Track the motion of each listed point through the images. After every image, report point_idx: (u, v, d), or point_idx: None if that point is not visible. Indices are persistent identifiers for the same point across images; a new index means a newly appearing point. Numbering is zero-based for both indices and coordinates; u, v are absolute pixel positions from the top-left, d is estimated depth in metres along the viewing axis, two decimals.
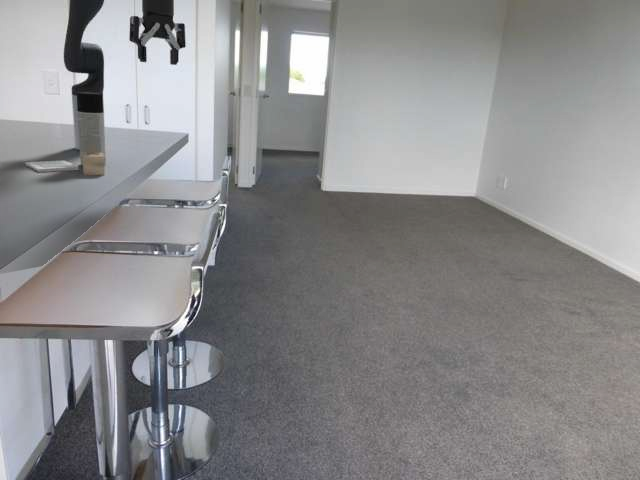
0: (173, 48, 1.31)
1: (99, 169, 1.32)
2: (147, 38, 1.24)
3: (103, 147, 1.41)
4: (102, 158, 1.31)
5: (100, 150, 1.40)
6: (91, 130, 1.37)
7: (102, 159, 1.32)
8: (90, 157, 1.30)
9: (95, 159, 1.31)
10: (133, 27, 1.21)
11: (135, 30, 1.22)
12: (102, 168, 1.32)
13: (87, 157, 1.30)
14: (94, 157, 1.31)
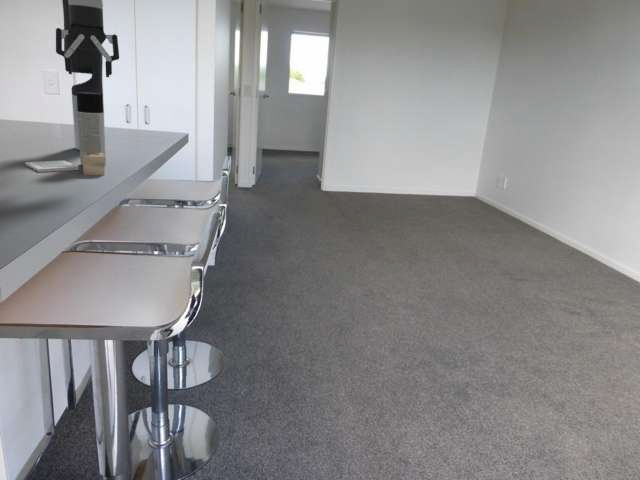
0: (70, 57, 1.24)
1: (99, 169, 1.32)
2: None
3: (103, 147, 1.41)
4: (102, 158, 1.31)
5: (100, 150, 1.40)
6: (91, 130, 1.37)
7: (102, 159, 1.32)
8: (90, 157, 1.30)
9: (95, 159, 1.31)
10: None
11: None
12: (102, 168, 1.32)
13: (87, 157, 1.30)
14: (94, 157, 1.31)
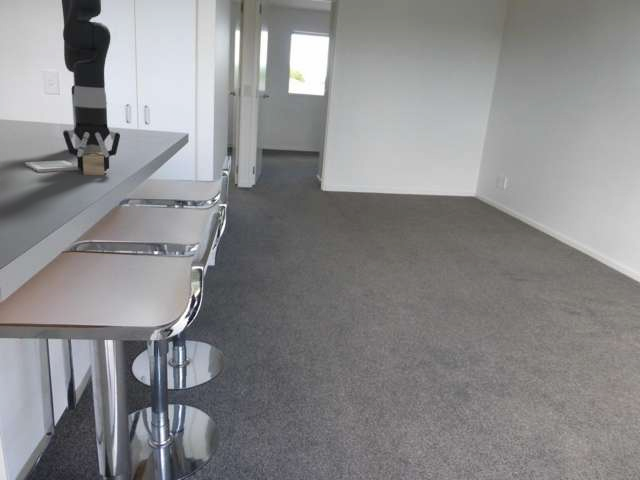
0: None
1: (99, 168, 1.32)
2: None
3: None
4: (102, 158, 1.31)
5: (100, 150, 1.40)
6: None
7: (101, 159, 1.32)
8: (90, 157, 1.30)
9: (95, 159, 1.31)
10: None
11: None
12: (102, 168, 1.32)
13: (87, 157, 1.30)
14: (94, 157, 1.31)
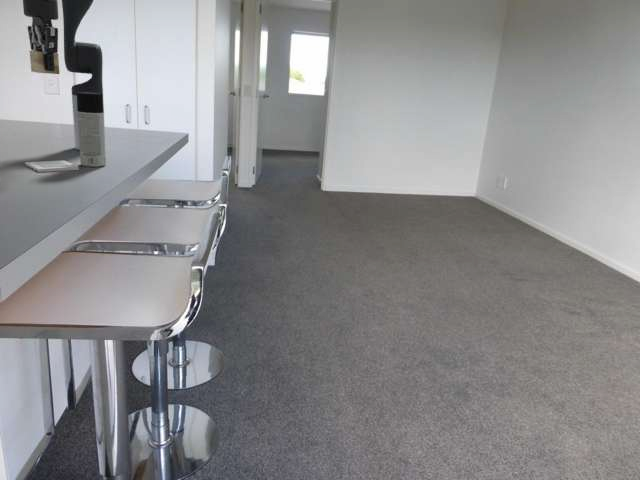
0: None
1: (36, 65, 1.25)
2: (53, 46, 1.25)
3: (103, 147, 1.41)
4: (36, 53, 1.24)
5: (100, 150, 1.40)
6: (91, 130, 1.37)
7: (36, 55, 1.24)
8: (32, 52, 1.25)
9: (33, 54, 1.25)
10: (55, 39, 1.22)
11: None
12: (37, 65, 1.24)
13: (31, 52, 1.26)
14: (33, 52, 1.25)
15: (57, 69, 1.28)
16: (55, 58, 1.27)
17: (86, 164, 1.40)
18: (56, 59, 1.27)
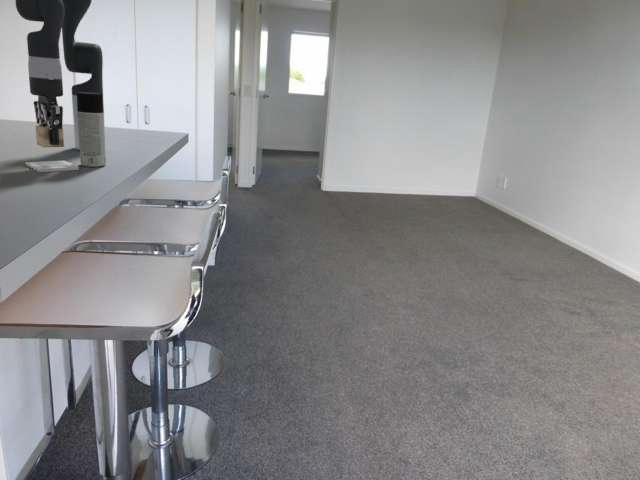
0: None
1: (41, 140, 1.31)
2: None
3: (103, 147, 1.41)
4: (41, 129, 1.29)
5: (100, 150, 1.40)
6: (91, 130, 1.37)
7: (41, 131, 1.29)
8: (37, 127, 1.31)
9: (39, 130, 1.30)
10: (60, 117, 1.28)
11: None
12: (42, 140, 1.30)
13: (37, 127, 1.31)
14: (39, 128, 1.30)
15: (62, 142, 1.33)
16: (60, 132, 1.32)
17: (86, 164, 1.40)
18: (61, 133, 1.32)
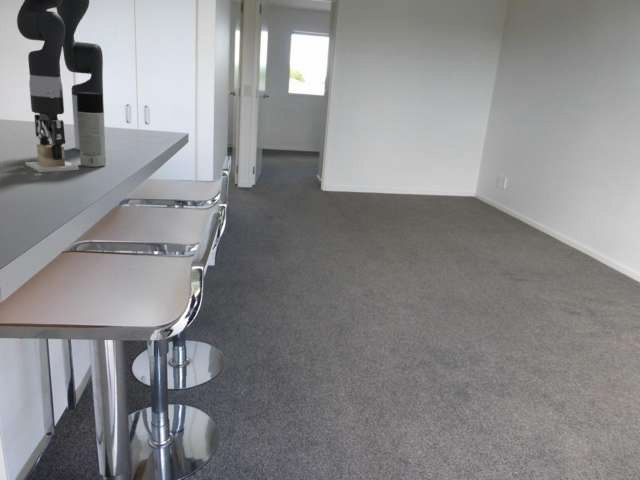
0: (45, 139, 1.36)
1: (43, 159, 1.32)
2: None
3: (103, 147, 1.41)
4: (43, 149, 1.31)
5: (100, 150, 1.40)
6: (91, 130, 1.37)
7: (43, 150, 1.31)
8: (39, 146, 1.33)
9: (41, 149, 1.32)
10: (62, 131, 1.28)
11: None
12: (44, 159, 1.32)
13: (38, 146, 1.33)
14: (40, 147, 1.32)
15: (63, 161, 1.35)
16: None
17: (86, 164, 1.40)
18: (62, 152, 1.34)
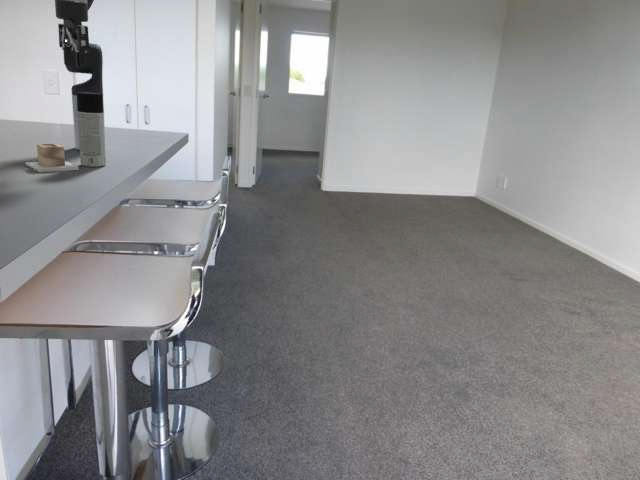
0: (69, 50, 1.35)
1: (43, 159, 1.32)
2: (84, 45, 1.30)
3: (103, 147, 1.41)
4: (43, 149, 1.31)
5: (100, 150, 1.40)
6: (91, 130, 1.37)
7: (43, 150, 1.31)
8: (39, 146, 1.33)
9: (41, 149, 1.32)
10: (86, 37, 1.27)
11: None
12: (44, 159, 1.32)
13: (38, 146, 1.33)
14: (40, 147, 1.32)
15: (63, 161, 1.35)
16: (61, 151, 1.34)
17: (86, 164, 1.40)
18: (62, 152, 1.34)
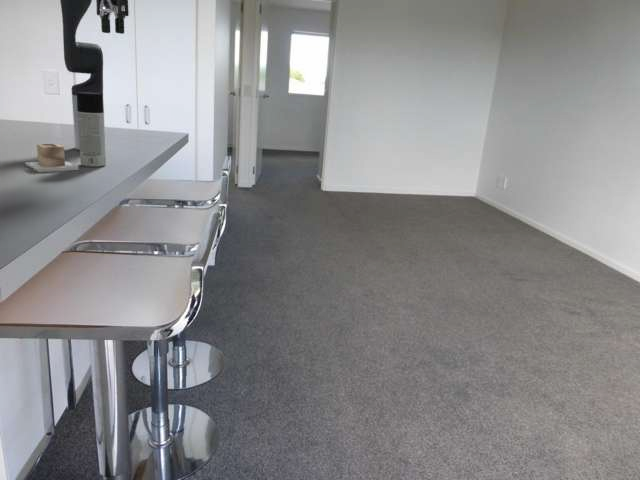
0: (106, 17, 1.41)
1: (43, 159, 1.32)
2: None
3: (103, 147, 1.41)
4: (43, 149, 1.31)
5: (100, 150, 1.40)
6: (91, 130, 1.37)
7: (43, 150, 1.31)
8: (39, 146, 1.33)
9: (41, 149, 1.32)
10: (126, 2, 1.33)
11: None
12: (44, 159, 1.32)
13: (38, 146, 1.33)
14: (40, 147, 1.32)
15: (63, 161, 1.35)
16: (61, 151, 1.34)
17: (86, 164, 1.40)
18: (62, 152, 1.34)
